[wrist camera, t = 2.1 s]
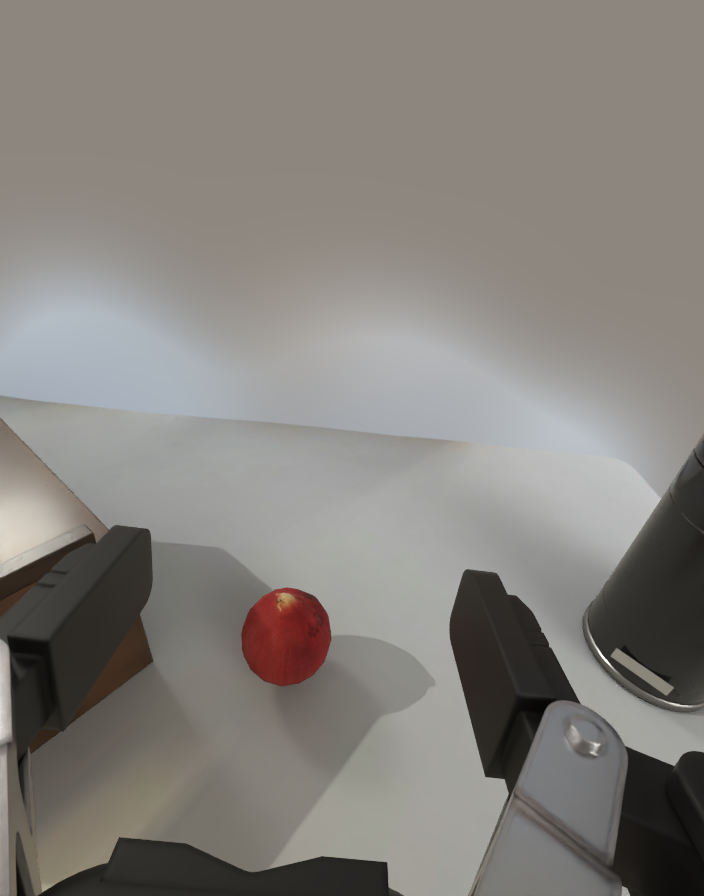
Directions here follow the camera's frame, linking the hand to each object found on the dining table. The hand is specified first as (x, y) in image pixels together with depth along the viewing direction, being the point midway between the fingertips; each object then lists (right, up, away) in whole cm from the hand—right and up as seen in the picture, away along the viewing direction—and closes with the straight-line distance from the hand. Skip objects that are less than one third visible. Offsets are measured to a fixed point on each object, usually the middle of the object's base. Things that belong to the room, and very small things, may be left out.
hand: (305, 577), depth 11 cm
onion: (-4, -12, +20) cm, 24 cm away
